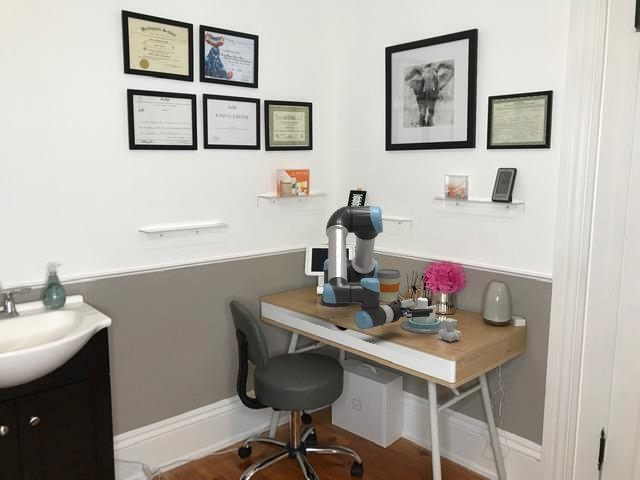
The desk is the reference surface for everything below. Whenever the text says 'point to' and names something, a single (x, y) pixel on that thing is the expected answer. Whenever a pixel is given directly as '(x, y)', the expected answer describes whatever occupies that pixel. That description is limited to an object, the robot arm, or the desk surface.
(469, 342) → the desk surface
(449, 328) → the stamp
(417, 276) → the reed diffuser
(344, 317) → the desk surface
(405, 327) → the ring dish
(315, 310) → the desk surface
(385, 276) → the reusable coffee cup
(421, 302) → the medicine bottle
